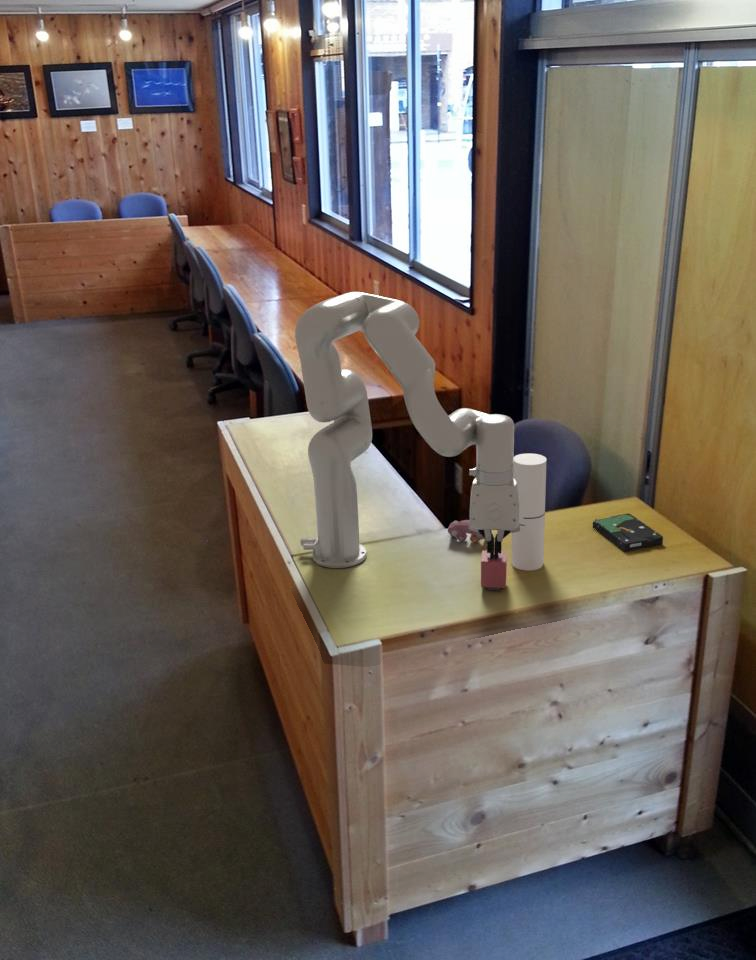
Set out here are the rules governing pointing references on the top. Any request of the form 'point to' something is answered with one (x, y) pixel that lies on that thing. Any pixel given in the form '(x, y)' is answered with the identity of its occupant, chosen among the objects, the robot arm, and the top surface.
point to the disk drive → (628, 532)
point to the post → (493, 588)
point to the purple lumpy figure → (463, 531)
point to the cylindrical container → (529, 511)
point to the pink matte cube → (493, 570)
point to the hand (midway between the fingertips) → (494, 555)
